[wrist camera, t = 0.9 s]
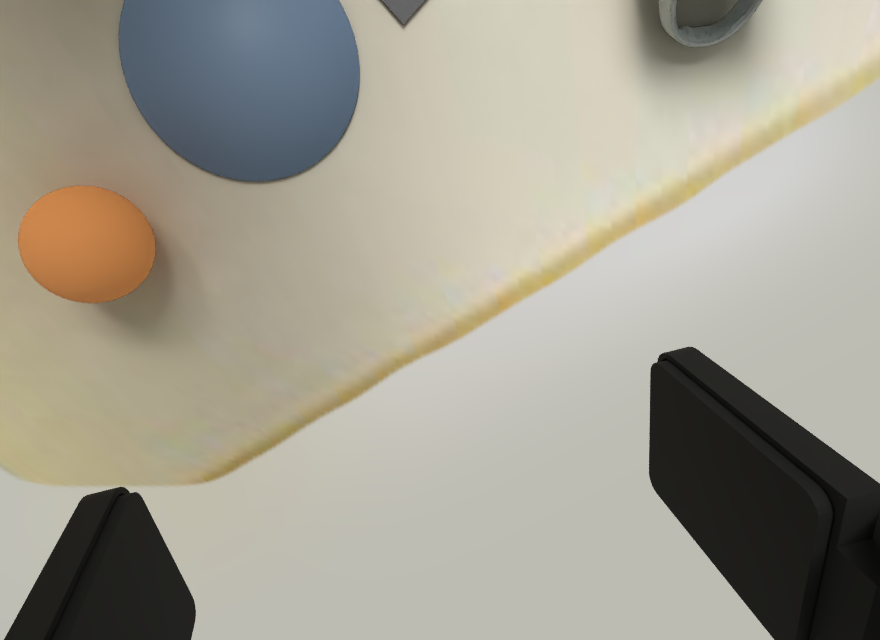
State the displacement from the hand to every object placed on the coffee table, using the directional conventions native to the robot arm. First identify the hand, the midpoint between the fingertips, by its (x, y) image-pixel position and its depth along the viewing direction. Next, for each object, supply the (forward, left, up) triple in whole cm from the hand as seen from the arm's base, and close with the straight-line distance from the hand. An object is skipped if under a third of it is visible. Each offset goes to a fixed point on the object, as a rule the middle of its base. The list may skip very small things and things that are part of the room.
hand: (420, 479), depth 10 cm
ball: (-8, -11, -23) cm, 27 cm away
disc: (-8, +1, -26) cm, 27 cm away
